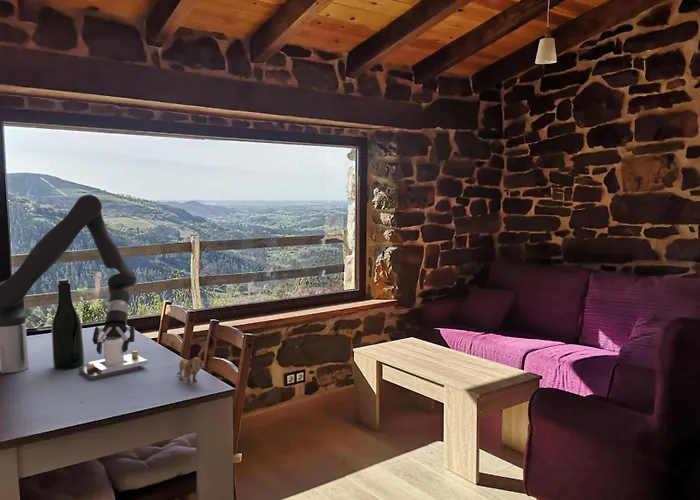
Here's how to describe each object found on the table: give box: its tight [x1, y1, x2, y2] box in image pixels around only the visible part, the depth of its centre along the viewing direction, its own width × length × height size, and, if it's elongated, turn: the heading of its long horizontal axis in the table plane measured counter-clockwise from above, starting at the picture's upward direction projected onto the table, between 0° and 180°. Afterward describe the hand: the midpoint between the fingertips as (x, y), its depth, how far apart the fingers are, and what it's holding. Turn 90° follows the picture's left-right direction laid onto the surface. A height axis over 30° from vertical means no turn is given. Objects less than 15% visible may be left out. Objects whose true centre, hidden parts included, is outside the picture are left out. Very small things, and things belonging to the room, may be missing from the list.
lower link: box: [78, 362, 139, 381], centre depth 199 cm, size 16×13×4 cm
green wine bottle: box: [51, 278, 85, 370], centre depth 205 cm, size 10×10×33 cm
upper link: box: [88, 349, 148, 374], centre depth 201 cm, size 16×13×4 cm
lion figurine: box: [176, 356, 205, 385], centre depth 187 cm, size 15×5×9 cm, turn 49°
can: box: [103, 336, 125, 367], centre depth 200 cm, size 6×6×12 cm
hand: (111, 352), depth 198 cm, fingers open, 8 cm apart
